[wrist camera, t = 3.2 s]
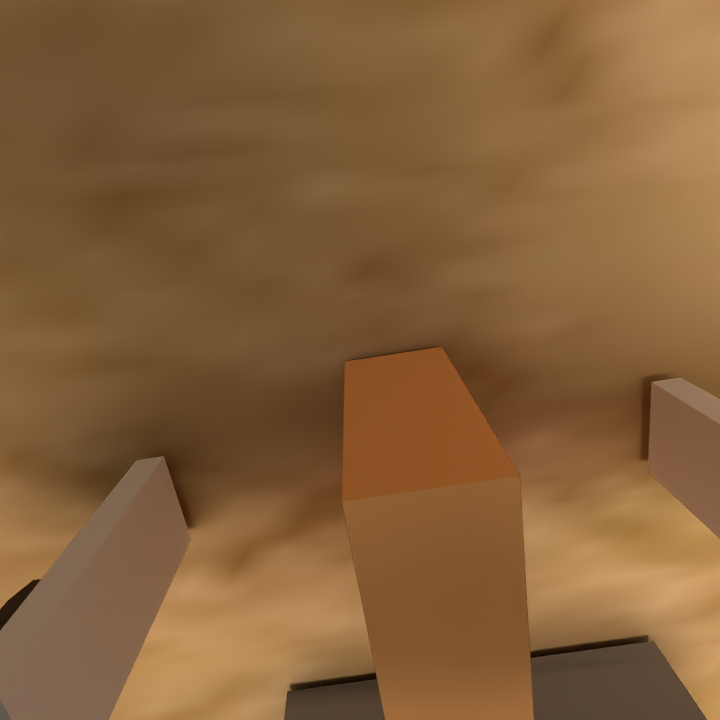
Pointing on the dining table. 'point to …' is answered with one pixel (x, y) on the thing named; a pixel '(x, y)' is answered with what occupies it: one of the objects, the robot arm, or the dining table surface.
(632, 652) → the box with rectangular hole
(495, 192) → the dining table surface
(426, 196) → the dining table surface
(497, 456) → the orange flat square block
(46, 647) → the robot arm
